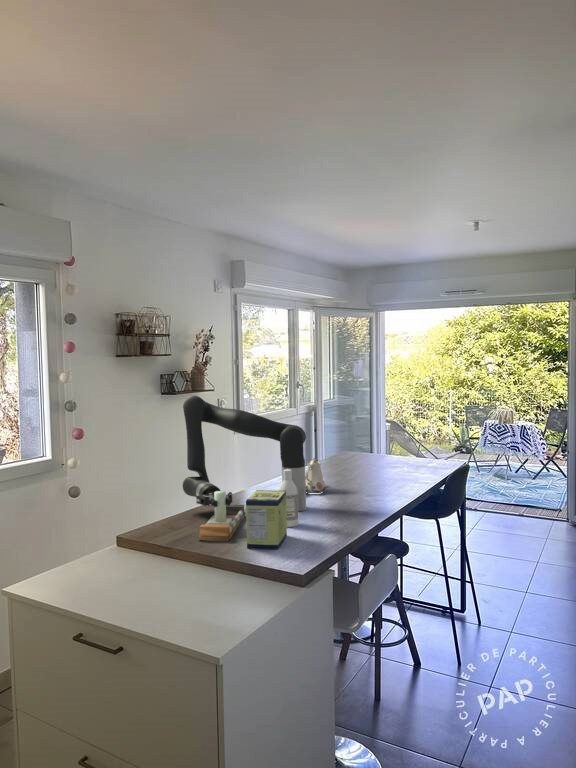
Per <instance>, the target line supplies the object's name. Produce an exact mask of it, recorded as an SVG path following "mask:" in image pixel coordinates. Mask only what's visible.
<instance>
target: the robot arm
mask: <svg viewBox="0 0 576 768" xmlns="http://www.w3.org/2000/svg"><path fill="white" fill-rule="evenodd" d="M182 409H183V415H184V421H185V429H186V444H187V446H186V447H187V450H186V451H187V452H186V453H187V454H186V455H187V456H186V457H187V458H186V460H187V461H186V463H187V470H189V471H191V472H195V473H197V475H198V476H187V477H186V478H185V479H184V480H183V482H182V490H183V491H184V492H183V493H185V494H186V495H188V496H189V497H195V498H196V499H195V501H196V502H195V503H196V504H197V505H201V506H205V507H207V506H208V507H217V500H215V499H214V492H216V491H221V489H220V488H219V487H218V486H217V485H214V484H213V483H211V482H210V479H209V476H208V472H207V469H206V468H207V467H206V452H205V451H206V449H205V443H204V437H203V429H202V424H203V423H209V424H213V425H216V426H219V427H222V428H224V429H226V430H228V431H232V432H235V433H238V434H242V435H244V436H248V437H255V438H264V439H271V440H274V441H276V442H277V441H278V442H279V450H280V451H279V452H280V453H279V455H280V462H281V483H282V482H283V480H284V470H285V469H290V470H292V481H293V482H294V484H295V486H296V488H297V492H298V512H302V511H306V509H307V494H306V484H305V476H306V459H305V455H304V443H305V442H306V439H307V435H306V432H305V430H304V429H303V427H300V426H298V425H295V424H288V423H284V422H279V421H274V420H272V419H269V418H267V417H264V416H261V415H258V414H255V413H252V412H248V411H246V410H242V409H235V408H224V407H220V406H217V405H214V404H212V403H209V402H207V401H205V400H204V399H203V398H202V397H200V396H198V395H190V396H188V397H186V399H185V400H184V402H183V406H182ZM232 503H233V492H232V491H229V492H227V493H226V505H232Z"/></svg>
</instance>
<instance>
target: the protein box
mask: <svg viewBox="0 0 576 768" xmlns="http://www.w3.org/2000/svg"><path fill="white" fill-rule="evenodd" d="M245 518H246V548H247V549H251V548H255V549H257V548H258V550H262V549H263V550H279V549H280V547H281V546H282V544H283V543H284V541H285V539H286V538H287V537H288V532H287V531H288V529H287V528H288V527H287V516H286V491H279V490H268V489H267V490H266V489H265V490H263V489H262V490H261V489H256V490H255V491H254V493H252V494H251V495H250V496H249V497H248V498H246V500H245ZM255 549H254V550H255Z"/></svg>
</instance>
